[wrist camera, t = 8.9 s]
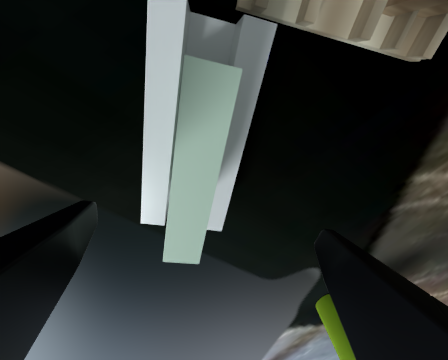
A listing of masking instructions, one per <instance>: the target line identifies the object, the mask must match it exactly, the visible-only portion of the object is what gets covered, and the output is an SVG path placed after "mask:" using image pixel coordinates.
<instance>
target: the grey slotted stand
mask: <svg viewBox="0 0 448 360" xmlns="http://www.w3.org/2000/svg"><path fill="white" fill-rule="evenodd" d="M276 27H277V24H275V23H272V22H269V21H265V20H262V19H258V18H255V17H252V16H248V15H245V14H244V15H243V17H242V18H241V19H240V20H239V21H238V22H237V24H232V23H229V22H225V21H221V20H218V19H214V18H211V17H207V16H204V15H200V14H197V13H193V12H190V8H189V3H188V0H148V9H147V42H146V74H145V106H144V138H143V170H142V203H141V223H144V224H154V225H165V221H166V216H167V212H168V207H169V197H170V188H171V178H172V169H173V159H174V150H175V140H176V131H177V121H178V112H179V102H180V93H181V83H182V74H183V64H184V55H188V56H192V57H196V58H200V59H204V60H208V61H212V62H216V63H220V64H225V65H229V66H233V67H237V68H241V69H243V70H242V74H241V79H240V83H239V88H238V92H237V97H236V101H235V105H234V110H233V114H232V119H231V123H230V128H229V132H228V137H227V141H226V145H225V150H224V154H223V159H222V163H221V168H220V172H219V177H218V181H217V185H216V190H215V194H214V199H213V203H212V208H211V212H210V217H209V221H208V225H207V230H216V231H222V227H223V223H224V220H225V216H226V212H227V209H228V205H229V201H230V198H231V194H232V190H233V187H234V183H235V179H236V175H237V172H238V168H239V164H240V161H241V157H242V153H243V150H244V146H245V142H246V138H247V135H248V131H249V127H250V124H251V120H252V116H253V113H254V109H255V105H256V101H257V98H258V94H259V90H260V87H261V83H262V79H263V76H264V72H265V68H266V64H267V61H268V57H269V53H270V50H271V46H272V42H273V39H274V35H275V31H276Z"/></svg>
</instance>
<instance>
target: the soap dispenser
mask: <svg viewBox="0 0 448 360" xmlns="http://www.w3.org/2000/svg"><path fill="white" fill-rule="evenodd" d="M316 309H317V311H318V313H319V315H320V318H321V320H322V322H323V324H324V326H325V328H326V331H327V333H328V335H329V337H330V339H331V341H332V343H333V346H334V348H335V350H336V352H337V354H338V356H339V358H340V360H356V359H355V356H354V354H353V351H352V349H351V346H350V344H349V341H348V339H347V336H346V334H345V331H344V329H343V326H342V324H341V321H340V319H339V317H338V314H337V312H336V309H335V307H334V304H333V302H332V299H331V297H330V294H327V295H325V296H323V297H322V298H320V299H319V300H318V301H317V303H316Z"/></svg>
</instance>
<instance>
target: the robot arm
mask: <svg viewBox="0 0 448 360" xmlns="http://www.w3.org/2000/svg"><path fill="white" fill-rule="evenodd" d="M97 223H98V216H97V205H96V203H95V202H93V201H84V200H83V201H80V202H78V203H75V204H73V205H71V206H69V207H66V208H64V209H62V210H60V211H58V212H55V213H53V214H51V215H49V216H46V217H44V218H42V219H40V220H38V221H35V222H33V223H31V224H29V225H26V226H24V227H22V228H20V229H18V230H15V231H13V232H11V233H9V234H7V235H4V236H2V237H0V360H24V359H25V357H26V355H27V354H28V352H29V350H30V349H31V347H32V345H33V343H34V342H35V340H36V338H37V337H38V335H39V333H40V331H41V330H42V328H43V326H44V325H45V323H46V321H47V319H48V318H49V316H50V314H51V313H52V311H53V309H54V307H55V306H56V304H57V303H58V301H59V299H60V297H61V296H62V294H63V292H64V291H65V289H66V287H67V285H68V284H69V282H70V280H71V279H72V277H73V275H74V273H75V272H76V270H77V268H78V266H79V264H80V262H81V260H82V258H83V256H84V253H85V251H86V249H87V247H88V244H89V242H90V240H91V238H92V235H93V233H94V231H95V229H96V226H97ZM314 249H315V252H316V255H317V259H318V262H319V265H320V269H321V272H322V275H323V278H324V281H325V284H326V287H327V289H328V292H329V294H330V297H331V299H332V302H333V304H334V307H335V309H336V312H337V314H338V317H339V319H340V321H341V324H342V326H343V329H344V331H345V334H346V336H347V339H348V341H349V344H350V346H351V349H352V351H353V354H354V356H355V359H356V360H448V306H447V305H445V304H443V303H442V302H440V301H439V300H437V299H436V298H434V297H433V296H430V294H428V293H427V292H425V291H424V290H422V289H421V288H419V287H418V286H416V285H415V284H413V283H412V282H410V281H409V280H407V279H406V278H404V277H403V276H401V275H400V274H398V273H397V272H395V271H394V270H392V269H391V268H389V267H388V266H386V265H385V264H383V263H382V262H380V261H379V260H377V259H376V258H374V257H373V256H371V255H370V254H368V253H367V252H365V251H364V250H362V249H361V248H359V247H358V246H356V245H355V244H353V243H352V242H350V241H349V240H347V239H346V238H344V237H343V236H341V235H340V234H338V233H337V232H335V231H334V230H329V229H323V230H322V231H321V232H320V234H319V236H318V238H317V239H316V241H315V243H314Z"/></svg>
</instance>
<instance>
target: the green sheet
mask: <svg viewBox="0 0 448 360" xmlns="http://www.w3.org/2000/svg"><path fill="white" fill-rule="evenodd" d="M242 70H243V69H241V68H237V67H233V66H229V65H225V64H220V63H216V62H212V61H208V60H204V59H200V58H196V57H192V56H188V55H184V64H183V74H182V83H181V93H180V102H179V112H178V121H177V131H176V140H175V150H174V159H173V169H172V178H171V188H170V197H169V207H168V216H167V226H166V235H165V246H164V254H163V262H177V263H191V264H199V261H200V256H201V252H202V248H203V243H204V239H205V234H206V230H207V225H208V221H209V217H210V212H211V208H212V203H213V199H214V194H215V190H216V185H217V181H218V177H219V172H220V168H221V163H222V159H223V154H224V150H225V145H226V141H227V137H228V132H229V128H230V123H231V119H232V114H233V110H234V105H235V101H236V97H237V92H238V88H239V83H240V79H241V74H242Z"/></svg>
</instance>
